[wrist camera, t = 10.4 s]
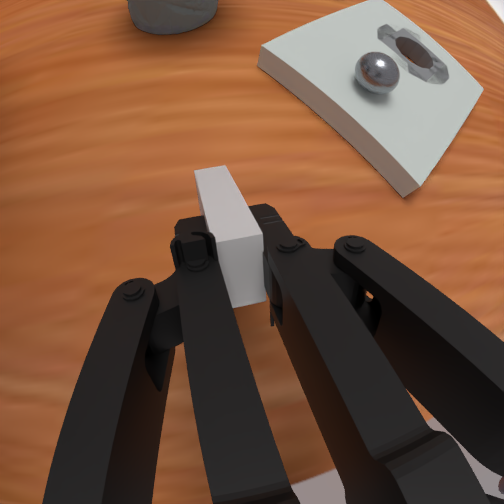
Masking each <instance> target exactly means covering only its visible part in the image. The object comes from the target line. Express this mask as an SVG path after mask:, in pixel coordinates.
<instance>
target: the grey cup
mask: <svg viewBox="0 0 504 504" xmlns="http://www.w3.org/2000/svg"><path fill="white" fill-rule="evenodd" d="M127 1H128V9H129V12H130V15H131V18H132V21H133V23H134V24H135V26H136V27H137V28H139V29H140V30H142V31H145V32H148V33H152V34H158V35H162V34H179V33H182V32H187V31H190V30H193V29H196V28H197V27H200V26H202V25H203V24H205V23H207V22H208V21H210V20H211V19H212V18H213V16H214V15H215V12H216V10H217V5H218V0H127Z"/></svg>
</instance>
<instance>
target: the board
mask: <svg viewBox="0 0 504 504" xmlns="http://www.w3.org/2000/svg"><path fill="white" fill-rule="evenodd" d="M368 52H381V53H384V54H386V55H388V56H390V57H391V58H392V59H393V60H394V61H395V63H396V64H397V66H398V68H399V72H400V79H399V83H398V85H397V86H396V88H395V89H394V90H393V91H391V92H390V93H387V94H384V95H376V94H372V93H370V92H368V91H366V90H365V89H363V88H362V87H361V86H360V84H359V83H358V81H357V79H356V76H355V66H356V63H357V61H358V59H359V58H360V57H361V56H362V55H364V54H366V53H368ZM402 54H403V55H402ZM404 55H405V56H407V57H409V58H410V59H411V60H412V61H413V62H414V63H415V64H414V63H412V62H410V61H409V60H408V59H407V58H406V57H405V56H404ZM257 66H258V67H259V68H261V69H262V70H263V71H265V72H266V73H267V74H269V75H270V76H271V77H273V78H274V79H275V80H277V81H278V82H279V83H280V84H282V85H283V86H284V87H285V88H287V89H288V90H289V91H290V92H292V93H293V94H294V95H295V96H297V97H298V98H299V99H300V100H301V101H303V102H304V103H305V104H306V105H307V106H309V107H310V108H311V109H312V110H313V111H314V112H316V113H317V114H318V115H319V116H320V117H321V118H322V119H324V120H325V121H326V122H327V123H328V124H329V125H330V126H331V127H333V128H334V129H335V130H336V131H337V132H338V133H339V134H340V135H341V136H342V137H343V138H344V139H346V140H347V141H348V142H349V143H350V144H351V145H352V146H353V147H354V148H355V149H356V150H357V151H358V152H359V153H360V154H361V155H362V156H363V157H364V158H365V159H366V160H367V161H368V162H369V163H370V164H371V165H372V166H373V167H374V168H375V169H376V170H377V171H378V172H379V173H380V174H381V175H382V176H383V177H384V178H385V179H386V180H387V181H388V182H389V183H390V185H391V186H392V187H393V188H394V189H395V190H396V191H397V192H398V193H399V194H400V195H401V196H402V198H404V197H405V196H407V195H408V194H410V193H411V192H413V191H414V190H416V189H417V188H419V187H420V186H421V185H422V184H423V182H424V181H425V179H426V178H427V177H428V175H429V174H430V172H431V171H432V169H433V168H434V167H435V165H436V164H437V162H438V161H439V159H440V158H441V156H442V155H443V153H444V152H445V150H446V149H447V147H448V146H449V144H450V143H451V141H452V140H453V138H454V137H455V135H456V134H457V132H458V131H459V129H460V128H461V126H462V124H463V123H464V121H465V120H466V118H467V116H468V115H469V113H470V112H471V110H472V108H473V107H474V105H475V103H476V102H477V100H478V98H479V97H480V95H481V93H482V91H483V90H484V89H483V88H482V87H481V85H480V84H479V83H478V82H477V81H476V80H475V79H474V78H473V77H472V76H471V75H470V74H469V73H468V72H467V71H466V70H465V69H464V68H463V67H462V66H461V65H460V64H459V63H458V62H457V61H456V60H455V59H454V58H453V57H452V56H451V55H450V54H449V53H448V52H447V51H446V50H445V49H444V48H443V47H441V46H440V45H439V44H438V43H437V42H436V41H435V40H434V39H432V38H431V37H430V36H429V35H428V34H427V33H425V32H424V31H423V30H422V29H421V28H419V27H418V26H417V25H416V24H414V23H413V22H412V21H411V20H409V19H408V18H407V17H405V16H404V15H403V14H401V13H400V12H399V11H397V10H396V9H395V8H393V7H392V6H391V5H389V4H388V3H386V2H385V1H383V0H368V1H365V2H362V3H359V4H357V5H354V6H351V7H348V8H345V9H343V10H340V11H337V12H335V13H332V14H330V15H327V16H325V17H322V18H320V19H317V20H315V21H312V22H310V23H308V24H305V25H303V26H301V27H299V28H296V29H294V30H292V31H290V32H288V33H286V34H284V35H281V36H279V37H277V38H275V39H273V40H271V41H269V42H267V43H265V44H263V45H261V50H260V54H259V59H258V63H257Z"/></svg>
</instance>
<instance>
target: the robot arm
mask: <svg viewBox="0 0 504 504" xmlns="http://www.w3.org/2000/svg"><path fill="white" fill-rule="evenodd" d="M194 173H195V180H196V187H197V193H198V200H199V206H200V213H201V216H196V217H191V218H186V219H180V220H179V221H178V222H177V224H176V225H175V227H174V228H175V238H174V239H173V240H172V241H171V244H170V248H171V253H172V257H173V261H174V265H175V269H176V270H175V272H174V273H173V274H172V275H171V276H170V277H169V278H167V279H166V280H164V281H162V282H160V283H157V284H155V285H154V284H153V283H152V281H150V280H148V279H144V278H135V279H130V280H128V281H126V282H123V283H122V284H121V285H119V286H118V287H117V288H116V289H115V291H114V292H113V294H112V296H111V299H110V301H109V303H108V305H107V308H106V310H105V312H104V315H103V317H102V319H101V322H100V324H99V326H98V329H97V331H96V334H95V336H94V339H93V341H92V343H91V346H90V349H89V351H88V354H87V356H86V359H85V361H84V364H83V367H82V369H81V372H80V375H79V378H78V380H77V383H76V386H75V389H74V392H73V395H72V398H71V401H70V404H69V407H68V410H67V413H66V416H65V419H64V422H63V425H62V429H61V432H60V435H59V439H58V442H57V446H56V449H55V453H54V457H53V461H52V464H51V468H50V472H49V476H48V481H47V485H46V489H45V494H44V498H43V503H42V504H152V497H153V489H154V481H155V473H156V465H157V458H158V451H159V444H160V437H161V431H162V424H163V418H164V412H165V406H166V400H167V394H168V388H169V383H170V377H171V371H172V366H173V361H174V355H175V346H177V345H179V344H181V343H183V342H184V349H185V356H186V363H187V370H188V377H189V383H190V389H191V396H192V402H193V408H194V413H195V419H196V424H197V430H198V435H199V440H200V445H201V450H202V455H203V460H204V465H205V470H206V474H207V479H208V483H209V488H210V492H211V496H212V501H213V504H300V502H299V500H298V498H297V496H296V495H295V493H294V492H293V490H292V488H291V486H290V483H289V480H288V478H287V475H286V472H285V469H284V466H283V463H282V460H281V458H280V455H279V452H278V449H277V446H276V443H275V440H274V437H273V434H272V431H271V428H270V425H269V422H268V419H267V416H266V413H265V410H264V407H263V404H262V401H261V398H260V395H259V392H258V389H257V385H256V382H255V379H254V376H253V373H252V370H251V367H250V363H249V360H248V357H247V354H246V351H245V347H244V344H243V341H242V338H241V334H240V331H239V328H238V325H237V321H236V318H235V315H234V311H233V308H236V307H241V306H245V305H250V304H255V303H259V302H264V301H266V292H267V294H268V296H269V299H270V322H271V326H274V321H275V323H276V326H277V328H278V331H279V333H280V335H281V338H282V340H283V343H284V345H285V347H286V350H287V352H288V355H289V357H290V359H291V362H292V364H293V367H294V369H295V371H296V374H297V376H298V379H299V381H300V383H301V386H302V388H303V391H304V393H305V395H306V398H307V400H308V402H309V405H310V407H311V410H312V412H313V414H314V417H315V419H316V422H317V424H318V426H319V429H320V431H321V433H322V436H323V438H324V441H325V443H326V445H327V448H328V450H329V452H330V455H331V457H332V459H333V462H334V464H335V467H336V469H337V471H338V474H339V476H340V478H341V480H342V483H343V486H344V489H345V499H346V504H504V499H500V498H497V497H494V496H491V495H488V494H485V492H484V490H483V489H482V487H481V485H480V483H479V481H478V479H477V478H476V476H475V474H474V472H473V470H472V468H471V467H470V465H469V463H468V461H467V460H466V458H465V456H464V454H463V453H462V451H461V449H460V448H459V446H458V444H457V443H456V442H455V440H454V439H453V438H452V437H451V436H450V435H448V434H447V433H445V432H441V431H434V430H433V429H431V428H430V427H429V426H428V424H427V423H426V421H425V420H424V418H423V416H422V415H421V413H420V411H419V410H418V408H417V406H416V405H415V403H414V401H413V400H412V398H411V397H410V395H409V393H408V392H407V390H408V391H409V392H410V393H411V394H412V395H413V396H414V397H415V398H416V399H417V400H418V401H419V402H420V403H421V404H422V405H423V406H424V407H425V408H426V409H427V410H428V411H429V412H430V413H431V414H432V415H433V416H434V418H435V419H437V421H438V422H439V423H441V425H442V426H443V427H444V428H445V429H446V430H447V431H448V432H449V433H450V434H451V435H452V436H453V437H454V438H455V439H456V440H457V441H458V442H459V443H460V444H461V445H462V446H463V447H464V448H465V449H466V450H467V451H468V452H469V453H470V454H471V455H472V456H473V457H474V458H475V459H477V461H479V462H480V463H481V464H482V465H484V466H485V467H486V468H488V469H489V470H491V471H493V472H494V473H497V474H498V475H500V476H502V478H501V480H500V481H499V486H498V487H499V491H500V492H501V493H502V494H504V342H503V341H502V340H500V339H499V338H498V337H497V336H496V335H495V334H493V333H492V332H491V331H490V330H488V329H487V328H486V327H485V326H484V325H482V324H481V323H480V322H479V321H477V320H476V319H475V318H474V317H472V316H471V315H470V314H469V313H467V312H466V311H465V310H464V309H462V308H461V307H460V306H459V305H457V304H456V303H455V302H453V301H452V300H451V299H450V298H448V297H447V296H446V295H444V294H443V293H442V292H440V291H439V290H438V289H436V288H435V287H434V286H432V285H431V284H430V283H428V282H427V281H426V280H424V279H423V278H422V277H420V276H419V275H417V274H416V273H415V272H413V271H412V270H411V269H409V268H408V267H406V266H405V265H404V264H402V263H401V262H399V261H398V260H397V259H395V258H394V257H392V256H391V255H389V254H388V253H387V252H385V251H384V250H382V249H381V248H379V247H378V246H377V245H375V244H374V243H372V242H371V241H369V240H367V239H365V238H363V237H359V236H354V235H350V236H344V237H341V238H339V239H337V240H336V242H335V244H334V249H315V248H312V247H311V246H310V245H309V243H308V242H307V241H306V240H304V239H303V238H300V237H298V236H293V234H292V233H291V231H290V230H289V228H288V227H287V226H286V224H285V223H284V221H282V218H281V217H280V216H279V214H278V213H277V211H276V210H275V208H273V207H271V206H270V205H268V204H266V203H265V204H259V205H253V206H247V204H246V202H245V200H244V198H243V196H242V195H241V193H240V191H239V189H238V187H237V186H236V184H235V182H234V180H233V178H232V177H231V175H230V173H229V171H228V169H227V167H226V166H225V165H224V166H218V167H212V168H206V169H200V170H194ZM367 291H368V292H369V293H371V294H372V295H373V299H371V298H369V297H368V296H367V295H366V293H367ZM406 389H407V390H406Z"/></svg>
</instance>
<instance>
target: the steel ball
mask: <svg viewBox="0 0 504 504" xmlns="http://www.w3.org/2000/svg"><path fill="white" fill-rule="evenodd" d="M355 76H356V79H357V81H358V83H359V84H360V86H361V87H362V88H363V89H365V90H366V91H368V92H370V93H372V94H376V95H384V94H387V93H390V92H391V91H393V90H394V89H395V88H396V86H397V85H398V83H399V79H400V72H399V68H398V66H397V64H396V63H395V61H394V60H393V59H392V58H391V57H390V56H388V55H386V54H384V53H381V52H368V53H366V54H364V55H362V56H361V57H360V58H359V59H358V61H357V63H356V66H355Z"/></svg>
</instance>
